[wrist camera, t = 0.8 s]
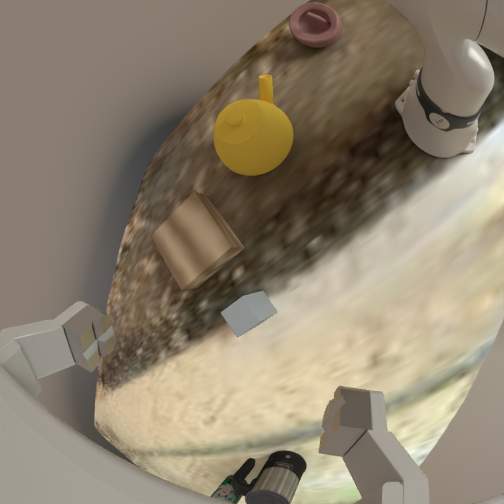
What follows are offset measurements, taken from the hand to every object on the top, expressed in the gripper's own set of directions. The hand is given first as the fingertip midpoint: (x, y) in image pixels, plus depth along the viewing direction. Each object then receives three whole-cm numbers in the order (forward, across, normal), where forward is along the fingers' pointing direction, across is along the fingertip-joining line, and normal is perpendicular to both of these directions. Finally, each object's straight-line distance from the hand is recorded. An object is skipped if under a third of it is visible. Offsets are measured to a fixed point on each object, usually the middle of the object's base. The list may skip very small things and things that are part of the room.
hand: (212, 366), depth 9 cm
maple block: (+46, +19, +17) cm, 53 cm away
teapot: (+53, +10, -7) cm, 55 cm away
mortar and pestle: (+62, +2, -34) cm, 71 cm away
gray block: (+39, +3, +24) cm, 47 cm away
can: (+20, -3, +70) cm, 73 cm away
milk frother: (+23, -11, +60) cm, 65 cm away
